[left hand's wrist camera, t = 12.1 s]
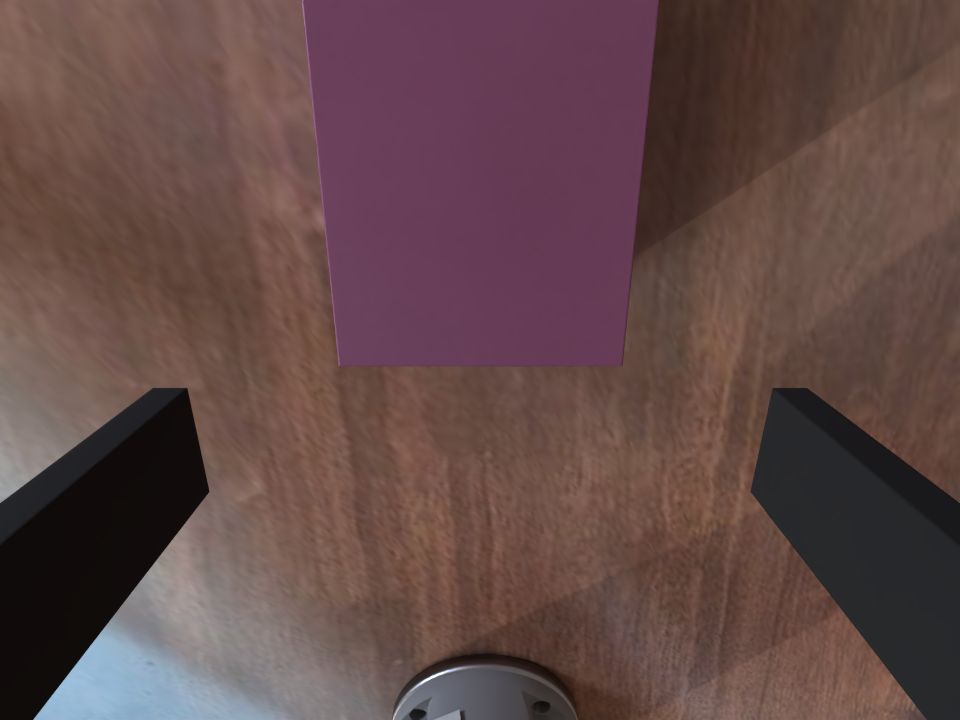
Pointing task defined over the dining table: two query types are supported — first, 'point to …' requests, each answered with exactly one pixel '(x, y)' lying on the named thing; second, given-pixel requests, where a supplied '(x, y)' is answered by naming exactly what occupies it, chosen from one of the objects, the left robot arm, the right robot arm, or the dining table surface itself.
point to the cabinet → (480, 175)
